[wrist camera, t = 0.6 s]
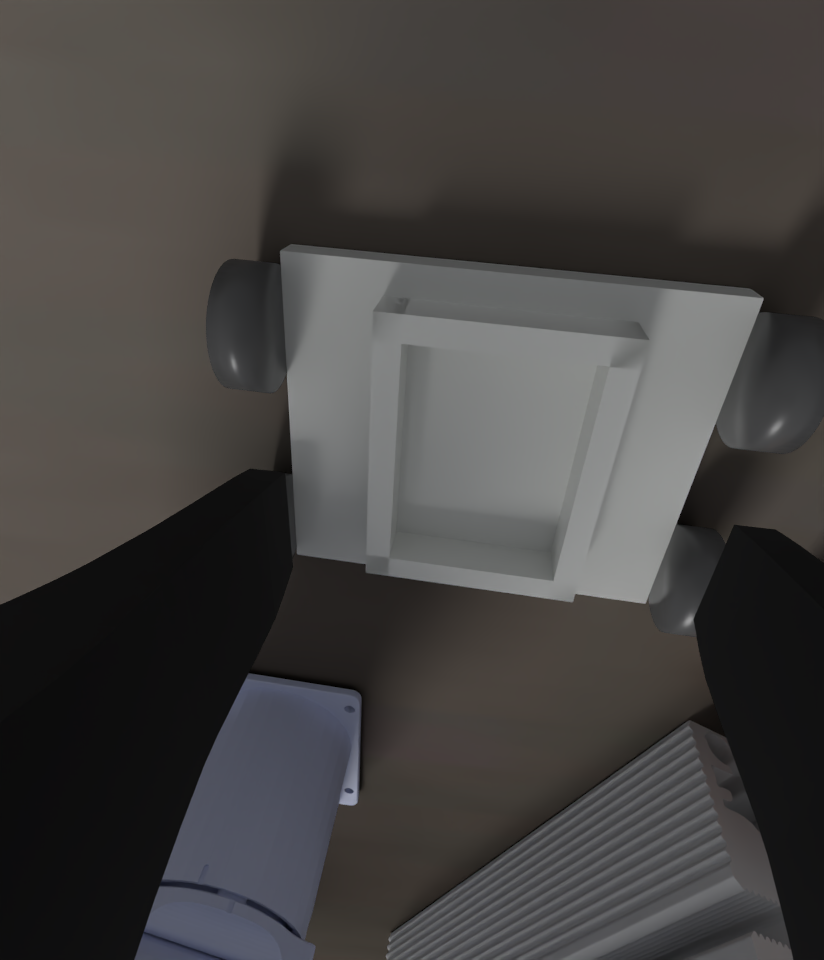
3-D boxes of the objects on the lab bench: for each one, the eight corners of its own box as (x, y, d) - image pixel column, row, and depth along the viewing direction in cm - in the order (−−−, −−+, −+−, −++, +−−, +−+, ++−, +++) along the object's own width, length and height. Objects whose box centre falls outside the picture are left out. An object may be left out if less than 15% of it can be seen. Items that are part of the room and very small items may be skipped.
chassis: (672, 589, 22) (699, 665, 19) (275, 534, 23) (240, 597, 20) (796, 292, 16) (864, 335, 13) (251, 240, 17) (197, 267, 14)
